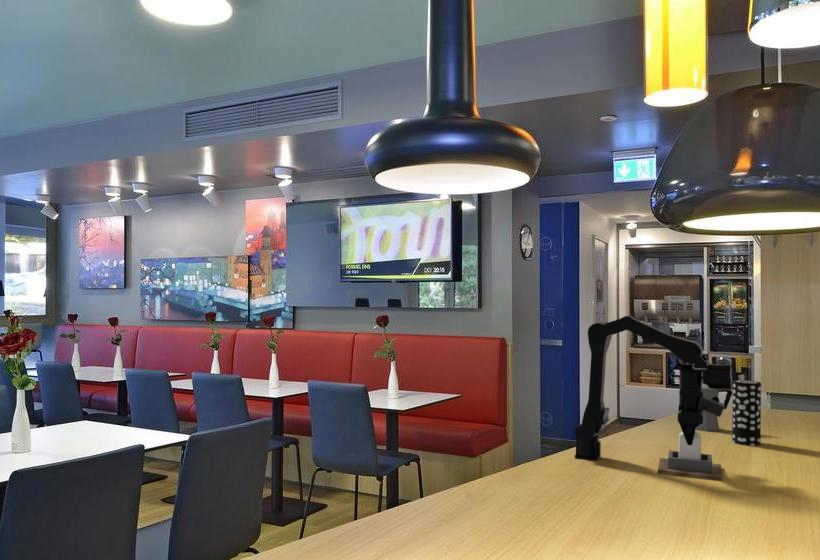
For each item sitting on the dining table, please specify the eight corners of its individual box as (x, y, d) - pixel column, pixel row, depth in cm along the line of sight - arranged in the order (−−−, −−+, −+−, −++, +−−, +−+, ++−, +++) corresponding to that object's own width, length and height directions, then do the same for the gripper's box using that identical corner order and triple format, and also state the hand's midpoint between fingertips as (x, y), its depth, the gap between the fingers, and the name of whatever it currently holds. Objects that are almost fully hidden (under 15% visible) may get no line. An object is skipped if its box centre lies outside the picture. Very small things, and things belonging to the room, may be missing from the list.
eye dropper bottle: (696, 465, 182) (697, 420, 182) (676, 461, 186) (676, 417, 186) (703, 463, 185) (703, 419, 185) (683, 459, 189) (683, 416, 189)
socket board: (657, 473, 182) (657, 469, 182) (660, 461, 195) (660, 458, 195) (722, 480, 176) (723, 476, 176) (720, 467, 189) (720, 464, 189)
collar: (667, 468, 183) (668, 457, 183) (669, 460, 191) (669, 450, 191) (712, 473, 179) (712, 462, 179) (711, 465, 187) (711, 454, 187)
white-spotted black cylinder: (765, 446, 217) (766, 383, 217) (739, 445, 217) (740, 383, 217) (752, 440, 225) (753, 380, 225) (727, 439, 225) (728, 379, 226)
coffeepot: (685, 429, 241) (686, 379, 241) (684, 424, 250) (685, 376, 250) (733, 433, 236) (733, 381, 236) (730, 428, 245) (730, 378, 245)
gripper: (724, 393, 174) (723, 454, 174) (721, 384, 191) (720, 439, 191) (677, 390, 178) (677, 449, 178) (679, 381, 195) (678, 435, 195)
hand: (689, 443), depth 185 cm, fingers closed on eye dropper bottle, 3 cm apart
